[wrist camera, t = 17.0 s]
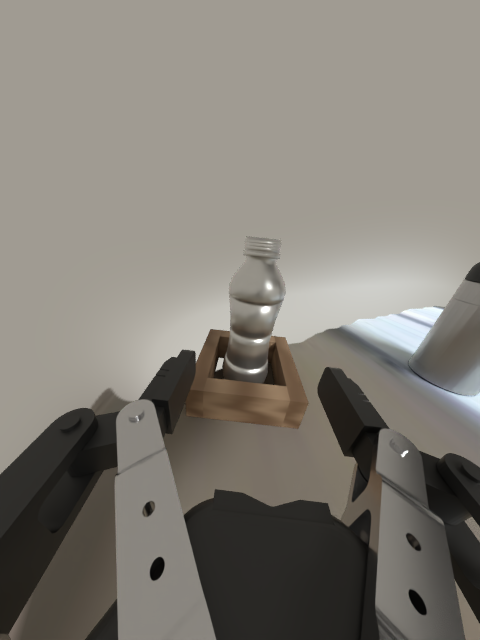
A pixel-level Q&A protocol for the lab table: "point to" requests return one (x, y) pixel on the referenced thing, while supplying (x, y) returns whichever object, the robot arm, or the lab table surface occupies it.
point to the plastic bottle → (253, 311)
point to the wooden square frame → (247, 388)
